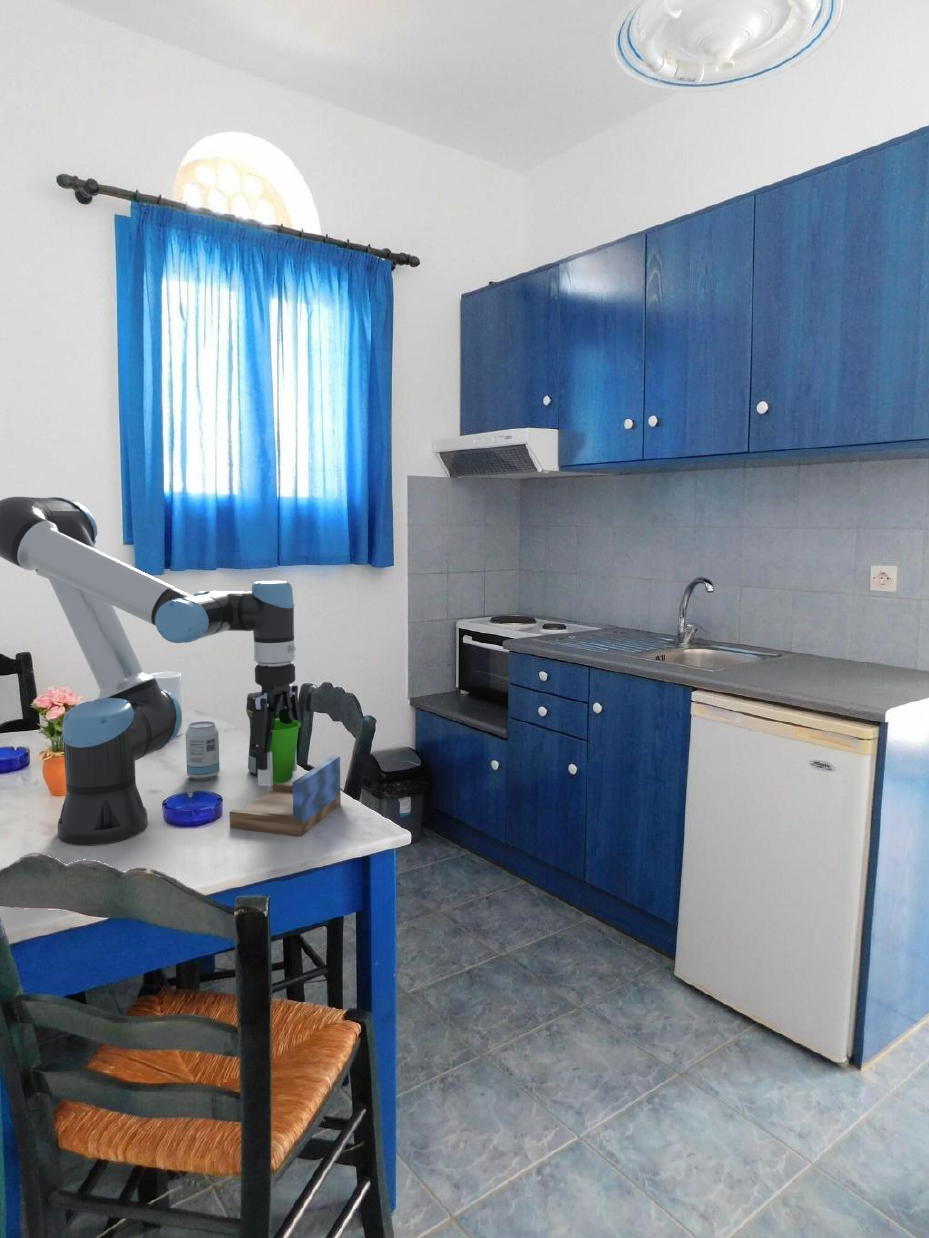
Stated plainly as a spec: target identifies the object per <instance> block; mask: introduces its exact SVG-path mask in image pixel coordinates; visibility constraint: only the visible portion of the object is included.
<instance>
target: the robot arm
mask: <svg viewBox="0 0 929 1238" xmlns="http://www.w3.org/2000/svg"><path fill="white" fill-rule="evenodd" d="M97 536H98V526H97V522H96V520H95V517H94V516H93V515H92V514H91V511H90V510H88V508H87V507H85V506H84V505H83V504H81V503H79V502H77V501H75V500H71V499H68V498H67V499H66V498H63V497H55V496H52V497H51V496H50V497H30V496H9V497H6V498H3V499H1V500H0V558H2V559H4V560H5V561H8V562H9V563H11V564H13V565H16V566H17V567H19V568H22V569H23V570H26V571H35V573H36V575H38V576H39V577H43V578H45V579H47V580H48V581H49V583H50V585H51V587H52V589H53V592H54V593H55V596H56V599H57V600H58V602H59V604H60V606H61V609H62V610H63V612H64V615H65V617H66V619H67V621H68V624H69V625H70V629H71V630H72V632H73V634H74V637H75V639H76V641H77V643H78V645H79V647H80V650H81V652H82V654H83V655H84V658H85V660H86V663H87V665H88V667H89V669H90V671H91V673H92V675H93V678H94V680H95V681H96V683H97V686H98V689H99V694H98V697H97V699H94V700H92V701H89V700H87V701H84V702H81V703H80V704H77V705H75V706H73V707H71V708H70V709H69V710H68V711H66V713H65V714H64V716H63V721H62V730H61V731H62V733H61V738H62V741H63V755H64V756H63V758H64V770H65V771H64V772H65V774H64V775H65V789H66V790H65V791H66V792H65V798H64V800H63V804H62V806H61V807H62V808H61V811H60V815H59V819H58V821H57V827H56V828H57V838H58V839H59V841H61V842H63V843H65V844H69V845H73V846H74V845H75V846H96V845H104V844H110V843H115V842H119V841H123V840H126V839H129V838H132V837H135V836H136V835H138V834H140V833H141V832H143V831H145V829H147V827H148V823H149V822H148V811H147V809H146V807H145V806H144V803H143V801H142V798H141V795H140V792H139V789H138V787H137V780H136V761H137V760H139V759H143V757H145V756H147V755H149V754H151V753H153V752H157V751H159V750H161V749H163V748H164V747H165V746H167V745H168V744H169V743H171V742H172V741H173V740H174V739H175V738H176V737H177V736H176V735H177V734H178V732H179V729H180V727H181V723H182V711H181V707H180V705H179V703H178V701H177V699H176V698H175V697H174V696H173V695H172V694H171V693H168V692H166V691H165V690H162V689H160V688H159V685H158V683H157V681H156V679H155V677H153V676H150V674H148V673H146V672H144V671H143V668H142V666H141V664H140V662H139V660H138V658H137V655H136V653H135V651H134V648H133V647H132V646H133V645H131V642H130V640H129V638H128V636H127V634H126V632H125V629H124V627H123V625H122V623H121V621H120V618H119V616H118V613H117V612H116V610H115V607H116V608H118V609H119V610H123V611H124V612H126V613H128V614H131V615H132V616H134V617H137V618H138V619H141V620H143V621H144V622H147V623H149V624H151V625H153V626H155V627H156V629H157V632H158V633H159V635H161V637H162V638H163V639H164V640H166V641H167V642H170V643H174V644H183V643H185V644H187V643H191V642H194V641H195V642H196V641H197V640H199V639H202V638H203V639H204V638H206V637H210V636H212V635H216V634H220V633H223V632H237V631H238V632H252V633H253V634H252V635H253V661H254V662H255V663H256V664H255V665H254V682H255V684H257V685H259V686H260V687H261V691H260V692H261V697H259V698H253V699H252V709H253V712H252V724H251V736H250V735H249V743H250V748H249V747H248V751H249V750H250V751H252V752H256V753H257V766H258V775H257V785H258V786H262V787H263V786H264V787H273V766H272V751H269V749H270V744H271V739H272V732H271V730H273V729H274V724H275V719H276V718H277V717H278V716H279V719H280V722H282V723H284V724H290V723H291V722H292V720H293V719H294V720H297V721H299V722H300V723H301V726H299V730H298V738H301V737H302V730H303V726H302V717H301V711H300V705H299V704H300V703H299V696H298V694H299V693H298V691H299V686H298V685H297V684H293V683H295V681H296V664H295V663H294V662H293V661H294V660H295V659H296V658H295V657H296V655H295V651H296V649H297V647H296V646H295V617H294V616H295V614H294V612H295V611H294V610H295V609H294V608H295V603H294V593H293V587H292V584H291V583H290V582H288V581H285V580H284V581H283V580H261V581H260V580H259V581H255V582H254V583H253V584H252V585H251V590H250V591H226V590H225V591H223V590H216V589H215V590H213V589H212V590H203V591H197V592H195V593H194V594H193V595H191V594H189V593H187V592H185V591H182V590H180V589H178V588H176V587H174V586H173V585H170V584H168V583H166V582H164V581H163V580H160V579H158V578H155V577H154V576H152V575H150V574H148V573H145V572H143V571H141V570H139V569H137V568H135V567H133V566H131V565H130V564H127V563H124V562H122V561H120V560H119V559H116V558H114V557H112V556H109V555H108V554H105V553H103V552H102V551H99V550H98V549H97V548H96V547H95V545H96V542H97V538H96V537H97ZM297 757H298V756H297V748H296V753H295V760H294V768H293V772H296V771H297V770H298V763H297V762H298V758H297Z"/></svg>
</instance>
